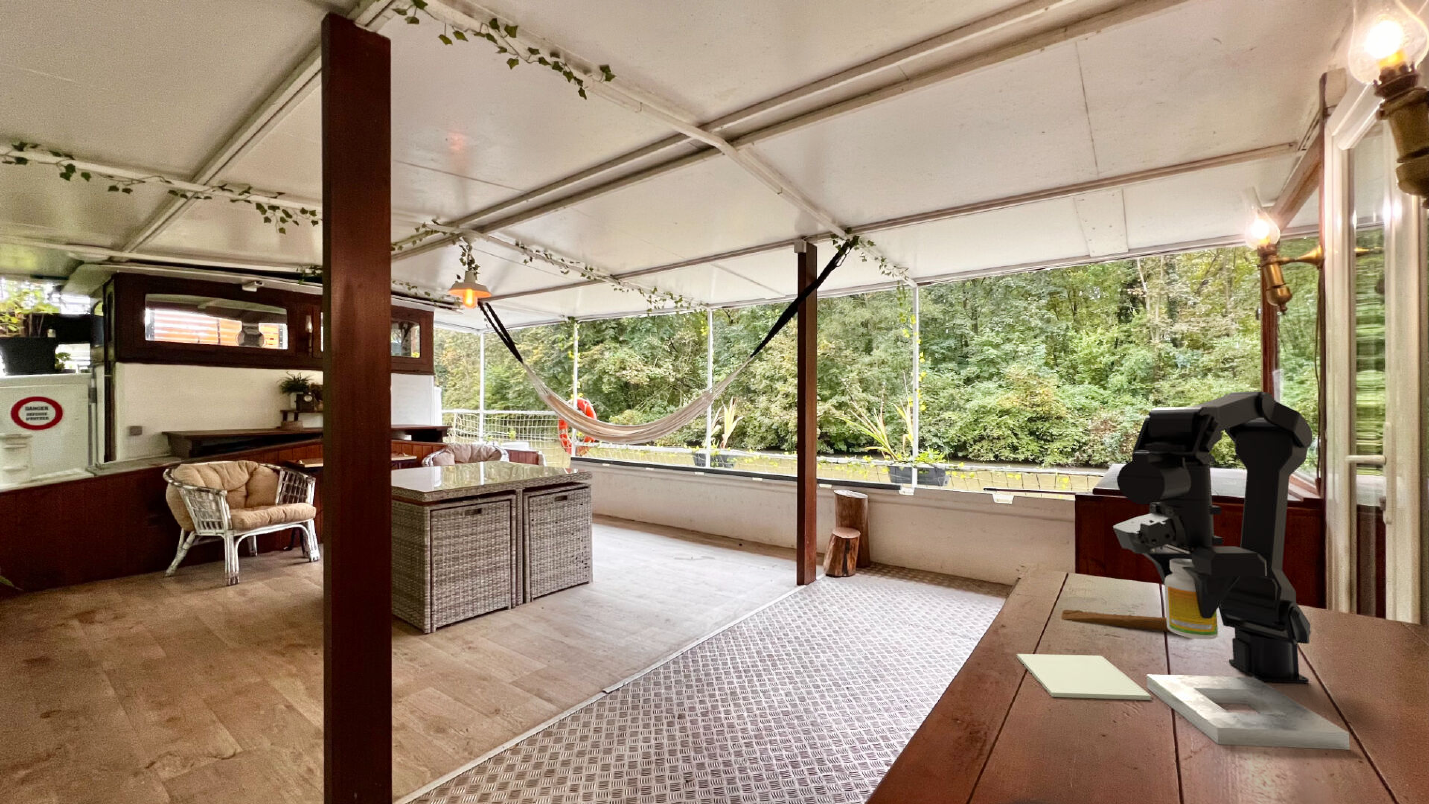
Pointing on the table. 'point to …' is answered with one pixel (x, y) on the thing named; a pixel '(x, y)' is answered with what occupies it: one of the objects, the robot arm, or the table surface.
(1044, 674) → the sage pad
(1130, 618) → the primitive tool
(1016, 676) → the table surface
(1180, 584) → the supplement bottle
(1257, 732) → the post foot
